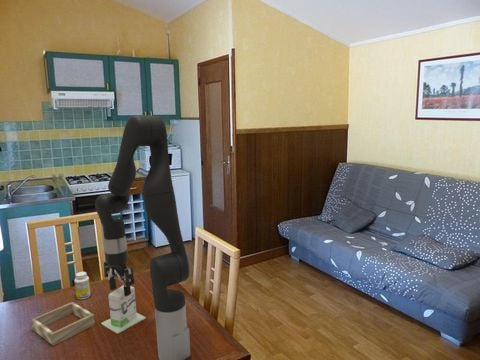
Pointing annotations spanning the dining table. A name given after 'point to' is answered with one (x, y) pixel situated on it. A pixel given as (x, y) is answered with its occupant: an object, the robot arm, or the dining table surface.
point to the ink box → (122, 307)
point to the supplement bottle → (82, 285)
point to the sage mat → (129, 324)
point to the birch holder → (64, 332)
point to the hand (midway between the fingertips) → (120, 292)
